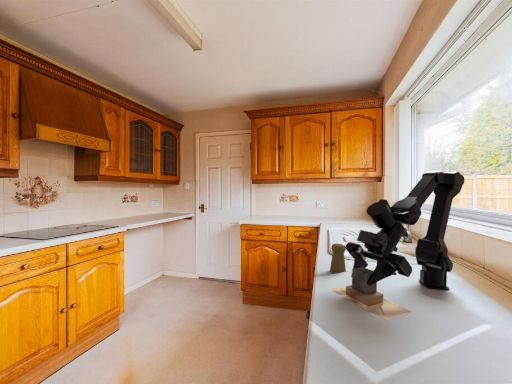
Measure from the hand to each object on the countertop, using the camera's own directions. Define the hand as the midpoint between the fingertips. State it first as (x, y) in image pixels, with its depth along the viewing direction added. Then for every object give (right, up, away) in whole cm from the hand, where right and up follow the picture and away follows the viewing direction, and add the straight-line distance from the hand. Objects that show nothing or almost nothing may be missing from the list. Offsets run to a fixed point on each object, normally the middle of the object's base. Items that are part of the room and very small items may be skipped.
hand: (359, 281), depth 69 cm
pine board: (+3, -7, +1) cm, 7 cm away
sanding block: (+1, -6, +1) cm, 6 cm away
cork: (+2, -6, +26) cm, 27 cm away
